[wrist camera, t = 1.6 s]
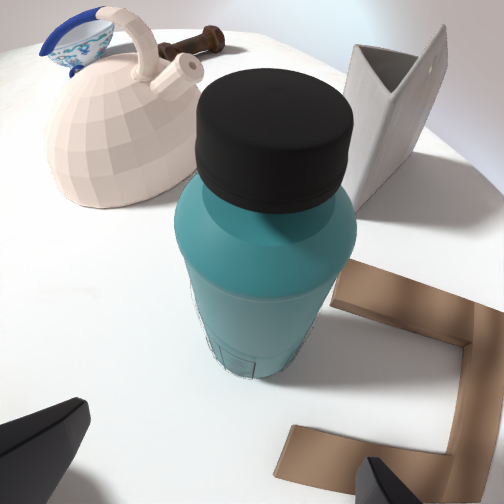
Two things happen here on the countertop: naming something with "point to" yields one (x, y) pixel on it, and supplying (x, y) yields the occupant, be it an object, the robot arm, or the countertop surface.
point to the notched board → (468, 401)
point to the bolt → (194, 44)
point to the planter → (388, 110)
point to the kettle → (123, 119)
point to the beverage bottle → (266, 213)
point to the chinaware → (83, 44)
